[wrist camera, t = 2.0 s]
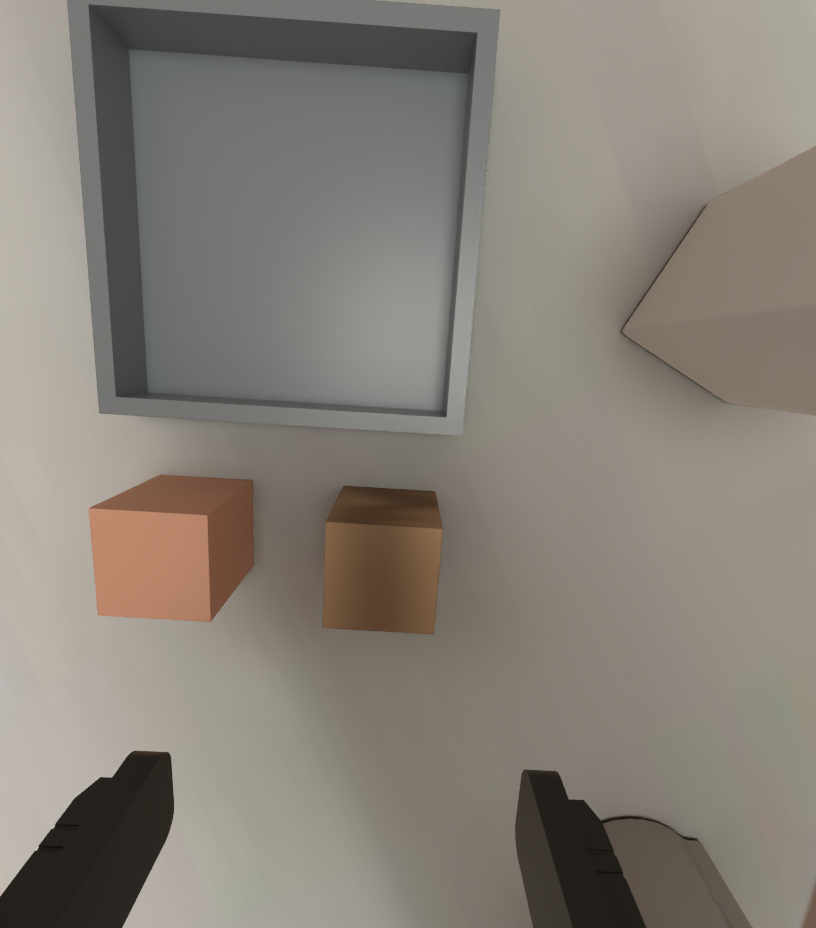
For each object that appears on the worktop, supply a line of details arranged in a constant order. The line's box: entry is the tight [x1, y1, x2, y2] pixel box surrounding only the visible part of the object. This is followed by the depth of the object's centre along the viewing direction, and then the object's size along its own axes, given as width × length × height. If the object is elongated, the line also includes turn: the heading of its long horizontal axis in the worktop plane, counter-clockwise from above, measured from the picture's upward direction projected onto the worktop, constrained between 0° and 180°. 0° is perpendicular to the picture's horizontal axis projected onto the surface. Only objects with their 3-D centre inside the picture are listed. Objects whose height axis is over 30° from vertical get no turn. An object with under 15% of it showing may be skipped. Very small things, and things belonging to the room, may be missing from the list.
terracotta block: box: [89, 475, 253, 622], centre depth 24 cm, size 5×5×6 cm
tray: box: [67, 0, 500, 436], centre depth 22 cm, size 17×17×4 cm
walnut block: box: [323, 486, 443, 634], centre depth 24 cm, size 5×5×6 cm
